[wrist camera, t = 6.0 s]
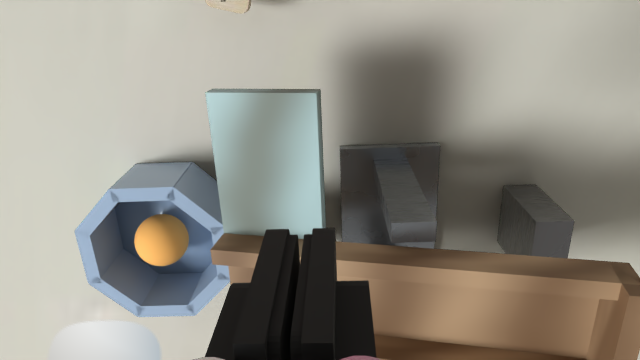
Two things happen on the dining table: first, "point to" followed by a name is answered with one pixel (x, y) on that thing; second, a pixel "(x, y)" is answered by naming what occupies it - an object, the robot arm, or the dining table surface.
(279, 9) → the dining table surface
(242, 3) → the popsicle
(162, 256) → the ball
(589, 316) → the lever
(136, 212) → the cup
